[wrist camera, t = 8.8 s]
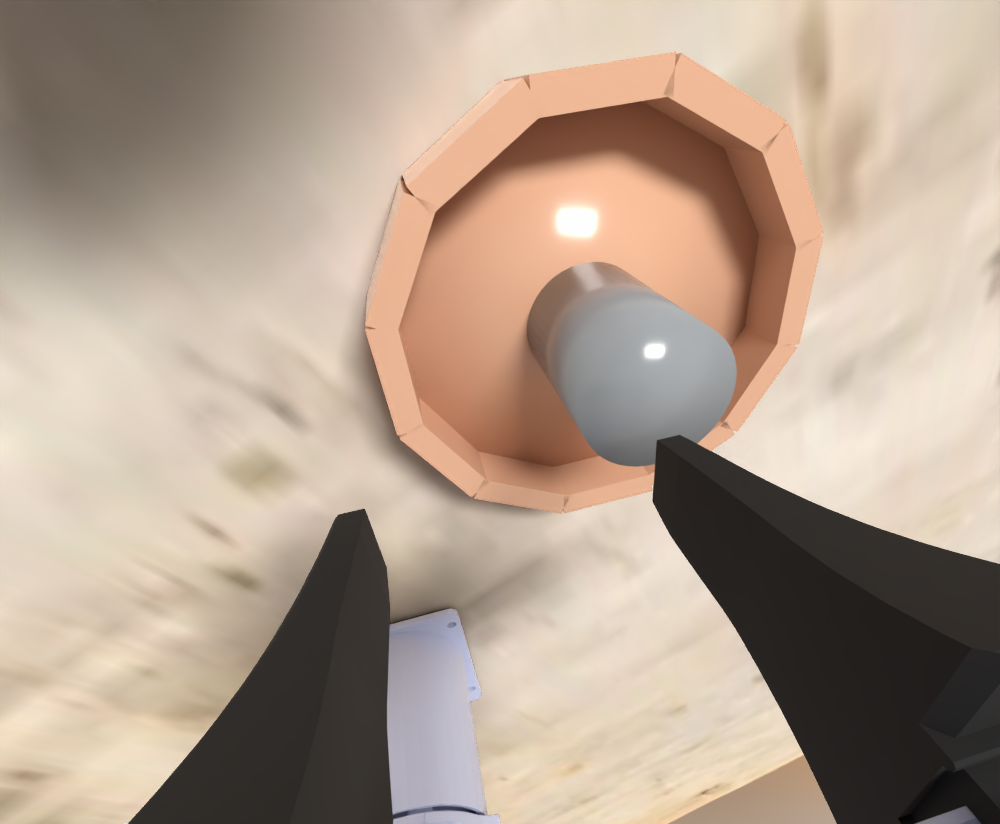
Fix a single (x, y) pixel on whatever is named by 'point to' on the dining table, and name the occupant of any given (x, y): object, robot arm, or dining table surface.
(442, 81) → the dining table surface
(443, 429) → the bowl
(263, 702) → the robot arm
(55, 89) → the dining table surface
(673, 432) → the grey cylinder
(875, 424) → the dining table surface
